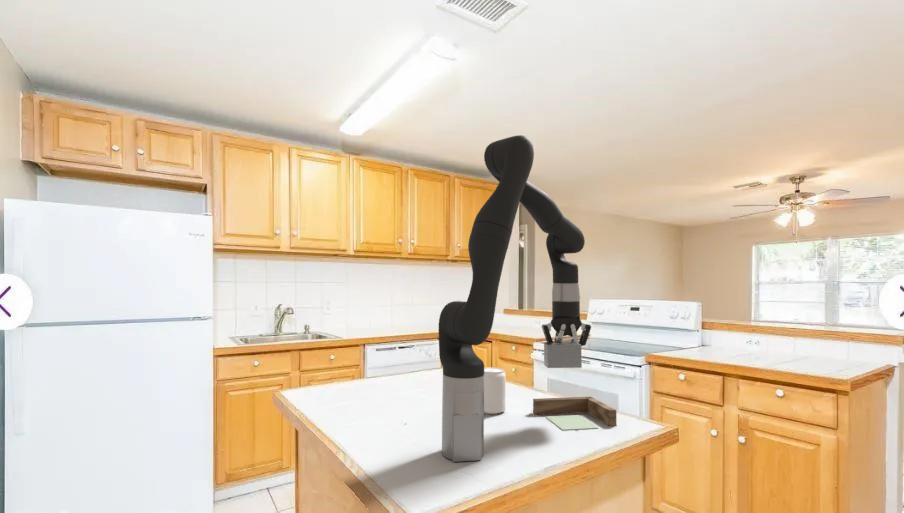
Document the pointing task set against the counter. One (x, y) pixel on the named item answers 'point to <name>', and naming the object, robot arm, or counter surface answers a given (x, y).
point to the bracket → (562, 354)
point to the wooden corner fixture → (575, 408)
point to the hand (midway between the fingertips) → (566, 360)
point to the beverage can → (494, 390)
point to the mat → (571, 422)
